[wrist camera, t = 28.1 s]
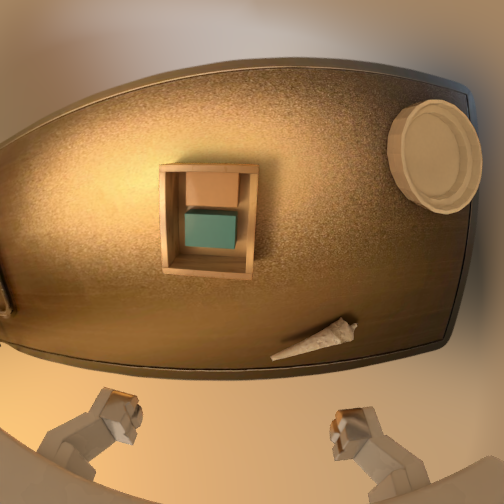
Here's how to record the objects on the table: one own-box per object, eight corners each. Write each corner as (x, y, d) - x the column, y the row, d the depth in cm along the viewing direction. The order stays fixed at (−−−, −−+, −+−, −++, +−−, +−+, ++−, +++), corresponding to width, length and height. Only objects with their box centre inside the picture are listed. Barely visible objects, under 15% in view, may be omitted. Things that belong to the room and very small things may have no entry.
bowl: (386, 91, 28) (402, 85, 23) (465, 120, 27) (483, 119, 23) (379, 199, 33) (394, 205, 28) (457, 212, 33) (475, 220, 28)
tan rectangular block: (191, 169, 32) (185, 171, 29) (240, 171, 32) (239, 172, 29) (191, 201, 33) (185, 205, 30) (239, 203, 33) (237, 207, 30)
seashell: (349, 313, 40) (357, 313, 37) (355, 336, 39) (364, 337, 36) (265, 338, 39) (266, 341, 36) (271, 362, 39) (273, 367, 35)
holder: (174, 162, 32) (158, 164, 27) (259, 164, 32) (258, 166, 27) (175, 256, 36) (162, 273, 31) (253, 261, 36) (252, 280, 31)
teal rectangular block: (190, 208, 33) (184, 213, 31) (237, 211, 33) (236, 216, 31) (190, 239, 35) (184, 246, 32) (236, 242, 35) (234, 249, 32)
